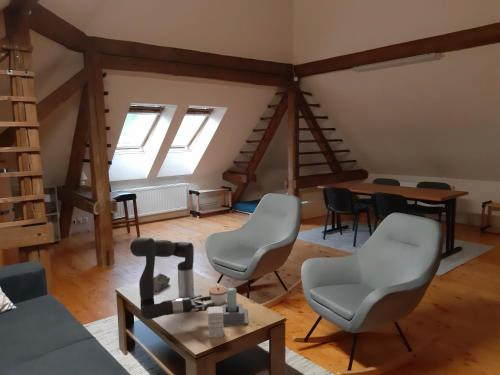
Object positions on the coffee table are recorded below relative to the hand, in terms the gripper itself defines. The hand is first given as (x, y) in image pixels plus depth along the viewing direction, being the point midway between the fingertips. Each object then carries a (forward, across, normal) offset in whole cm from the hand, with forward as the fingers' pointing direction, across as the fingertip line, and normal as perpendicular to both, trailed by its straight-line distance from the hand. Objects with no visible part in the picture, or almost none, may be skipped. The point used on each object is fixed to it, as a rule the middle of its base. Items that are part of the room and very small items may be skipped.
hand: (212, 301), depth 207 cm
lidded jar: (+8, +21, +11) cm, 25 cm away
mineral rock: (-21, +55, +11) cm, 60 cm away
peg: (+10, 0, +10) cm, 14 cm away
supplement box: (-1, -13, +11) cm, 18 cm away
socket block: (+10, 0, +11) cm, 15 cm away
